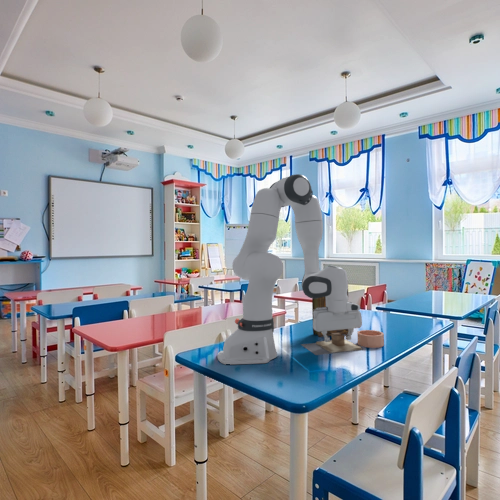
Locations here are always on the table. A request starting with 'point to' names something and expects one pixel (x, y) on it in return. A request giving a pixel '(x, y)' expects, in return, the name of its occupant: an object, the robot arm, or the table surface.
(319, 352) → the mat
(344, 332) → the book
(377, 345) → the bowl
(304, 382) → the table surface
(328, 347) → the board
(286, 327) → the table surface
